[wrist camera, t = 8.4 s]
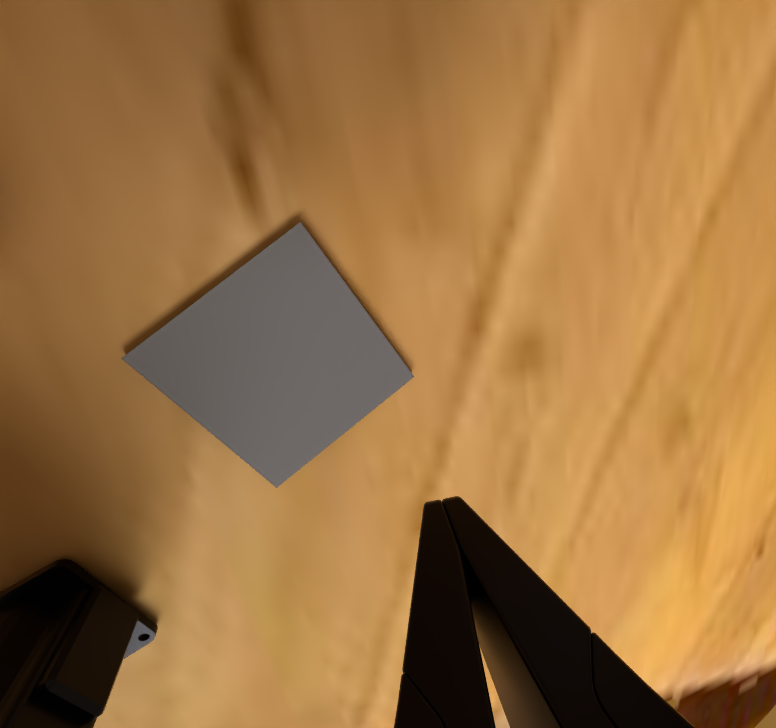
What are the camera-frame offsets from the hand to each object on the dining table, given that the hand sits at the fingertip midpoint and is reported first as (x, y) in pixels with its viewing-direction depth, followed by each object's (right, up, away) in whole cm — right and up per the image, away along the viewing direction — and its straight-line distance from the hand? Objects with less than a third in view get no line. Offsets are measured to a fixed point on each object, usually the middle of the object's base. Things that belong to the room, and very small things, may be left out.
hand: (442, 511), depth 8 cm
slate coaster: (-6, +3, +8) cm, 11 cm away
